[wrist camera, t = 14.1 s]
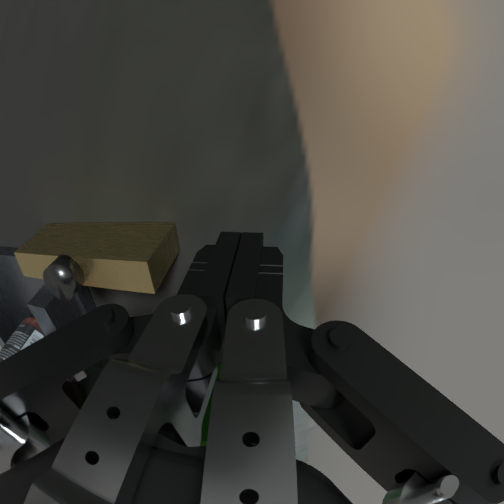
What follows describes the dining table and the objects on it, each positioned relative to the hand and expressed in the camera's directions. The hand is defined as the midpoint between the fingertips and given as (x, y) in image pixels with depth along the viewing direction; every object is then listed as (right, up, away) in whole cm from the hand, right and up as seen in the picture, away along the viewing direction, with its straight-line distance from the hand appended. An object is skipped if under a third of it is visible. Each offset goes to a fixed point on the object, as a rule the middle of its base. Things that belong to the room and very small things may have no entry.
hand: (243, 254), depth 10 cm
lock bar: (-7, +1, +2) cm, 7 cm away
